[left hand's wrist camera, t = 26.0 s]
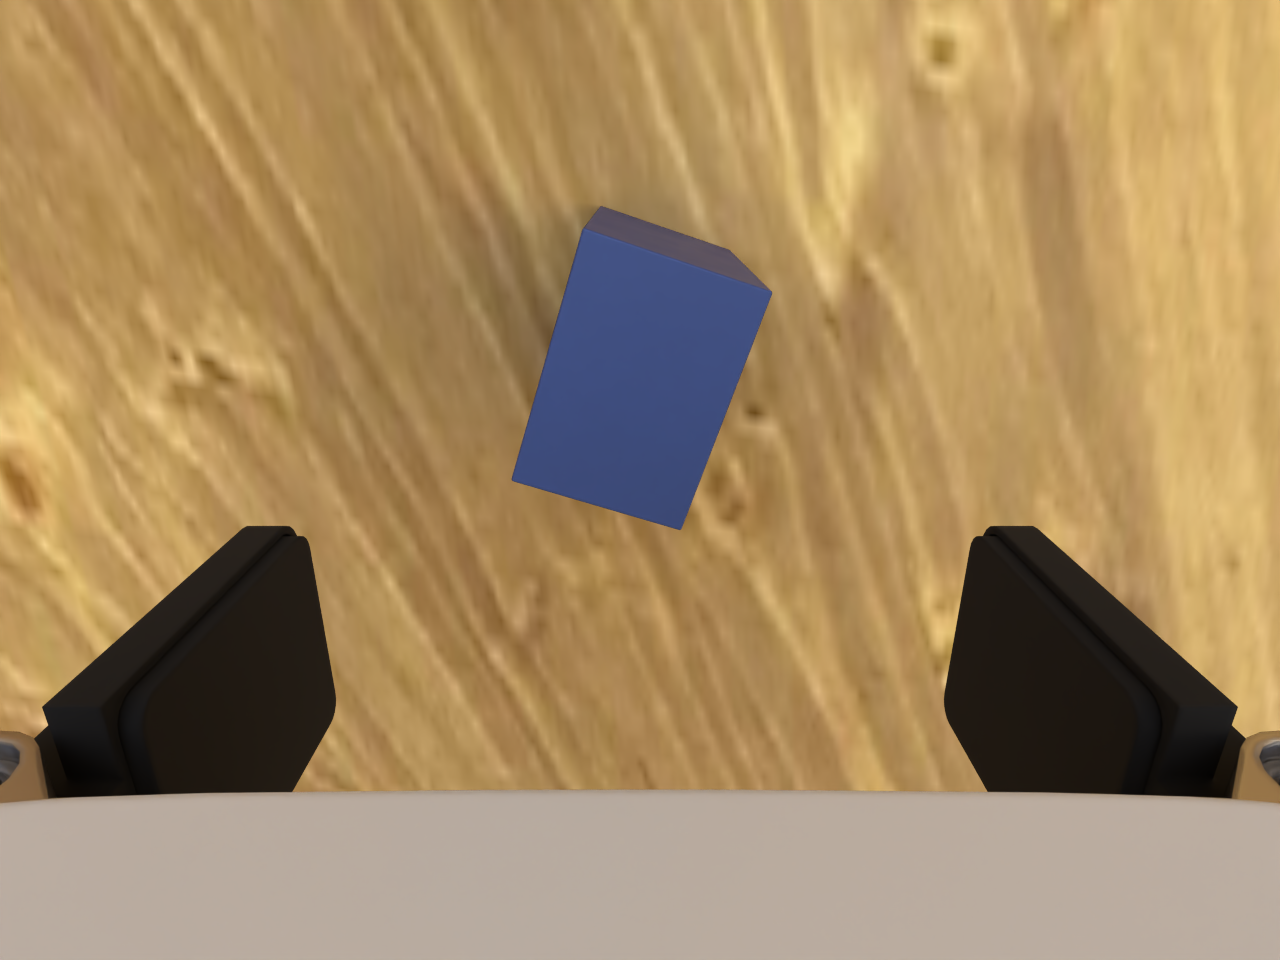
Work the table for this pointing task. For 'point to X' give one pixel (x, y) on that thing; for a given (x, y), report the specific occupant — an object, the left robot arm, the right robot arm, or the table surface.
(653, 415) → the block
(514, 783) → the table surface
